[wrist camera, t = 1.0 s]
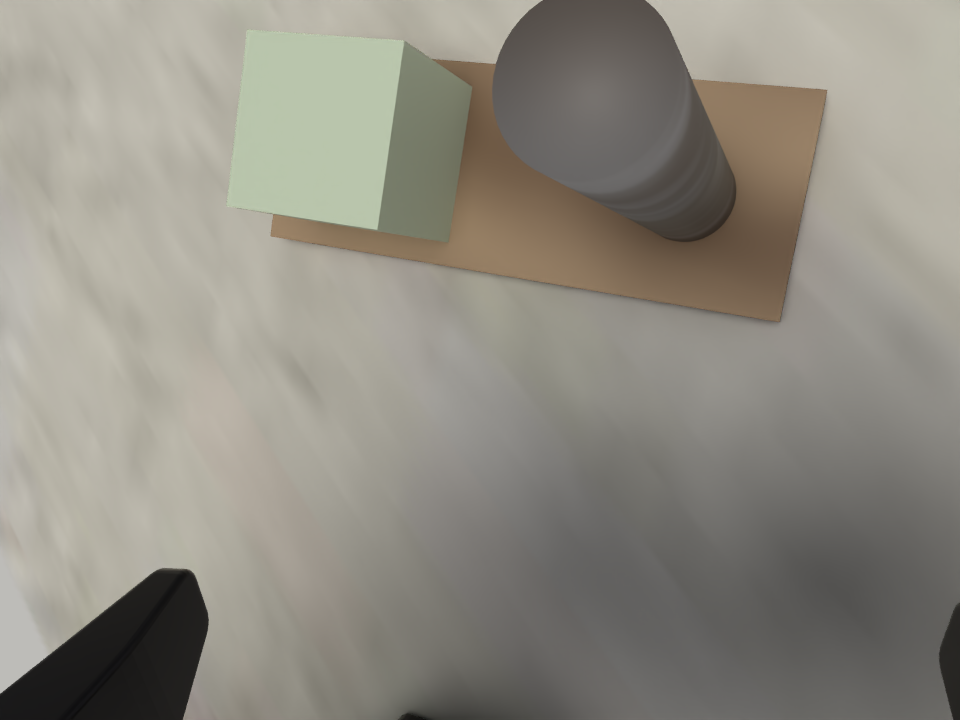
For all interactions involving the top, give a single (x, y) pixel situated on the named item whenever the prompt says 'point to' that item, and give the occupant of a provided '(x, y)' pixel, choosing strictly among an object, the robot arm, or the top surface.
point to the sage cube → (348, 133)
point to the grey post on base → (618, 168)
